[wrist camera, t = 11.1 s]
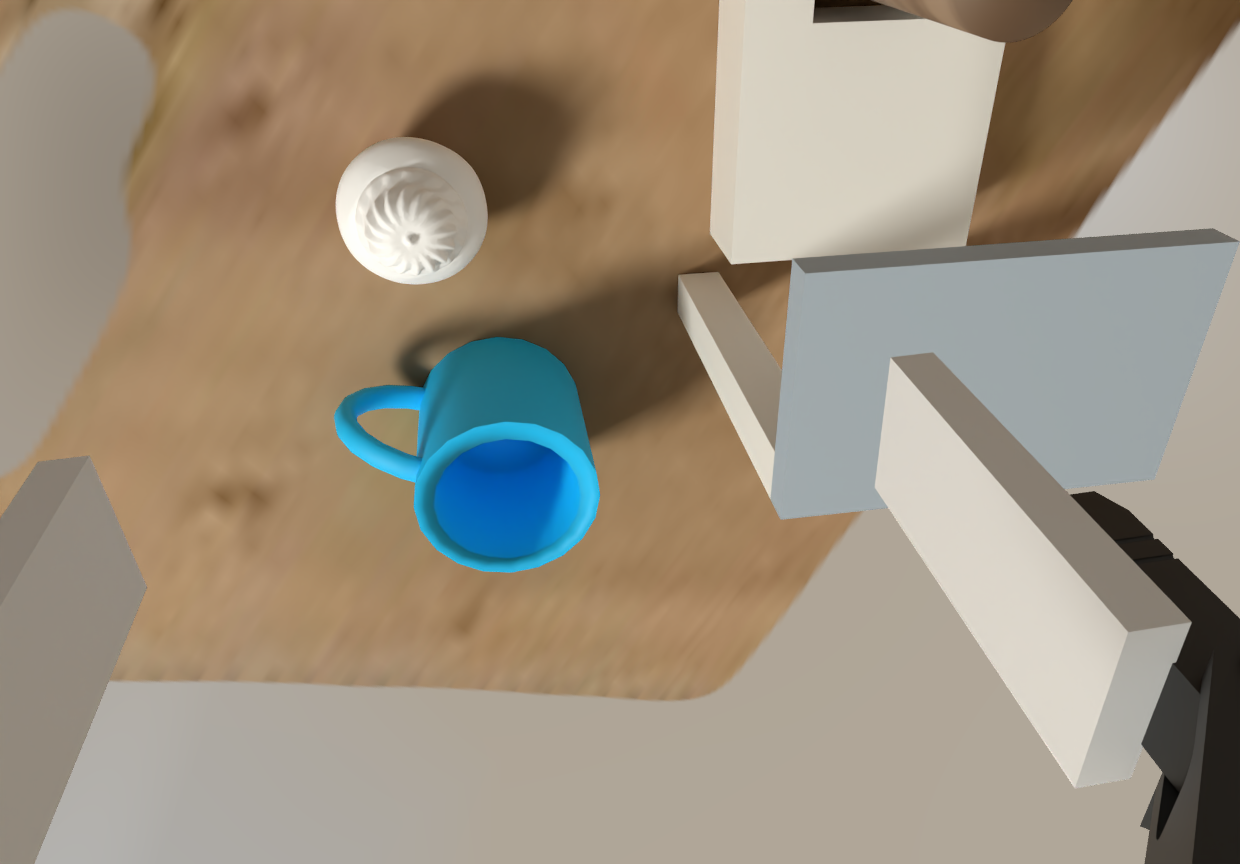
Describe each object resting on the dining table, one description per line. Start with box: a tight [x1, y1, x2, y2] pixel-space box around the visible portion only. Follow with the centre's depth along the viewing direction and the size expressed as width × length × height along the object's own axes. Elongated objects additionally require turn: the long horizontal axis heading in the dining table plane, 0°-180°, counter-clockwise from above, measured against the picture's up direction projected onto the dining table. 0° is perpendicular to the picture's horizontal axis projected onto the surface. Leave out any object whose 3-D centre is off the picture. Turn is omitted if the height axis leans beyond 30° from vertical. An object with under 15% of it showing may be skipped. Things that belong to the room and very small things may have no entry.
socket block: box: [710, 0, 1005, 264], centre depth 39 cm, size 17×11×4 cm, turn 1°
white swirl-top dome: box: [336, 137, 488, 284], centre depth 38 cm, size 6×6×7 cm
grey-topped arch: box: [678, 229, 1239, 519], centre depth 37 cm, size 9×14×17 cm, turn 91°
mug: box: [334, 337, 600, 572], centre depth 44 cm, size 12×8×8 cm
